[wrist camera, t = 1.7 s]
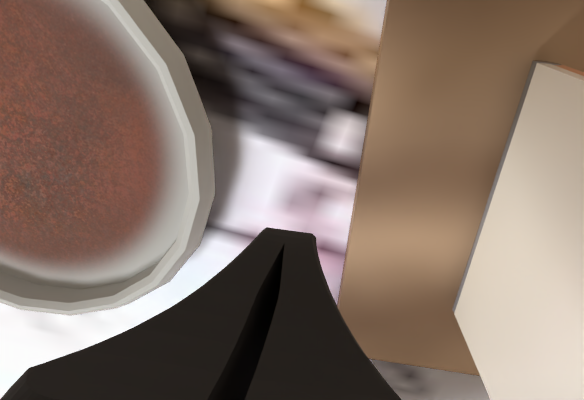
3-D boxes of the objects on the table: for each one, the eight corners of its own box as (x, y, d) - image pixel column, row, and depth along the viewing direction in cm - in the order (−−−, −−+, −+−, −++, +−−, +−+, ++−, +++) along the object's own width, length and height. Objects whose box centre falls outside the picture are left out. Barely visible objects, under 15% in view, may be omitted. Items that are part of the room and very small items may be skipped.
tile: (449, 303, 18) (468, 305, 18) (549, 539, 11) (581, 542, 11) (527, 59, 14) (553, 61, 14) (805, 165, 6) (861, 170, 6)
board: (669, 385, 20) (687, 408, 19) (332, 334, 22) (331, 352, 21) (980, -55, 12) (1041, -59, 11) (402, -97, 13) (407, -104, 12)
